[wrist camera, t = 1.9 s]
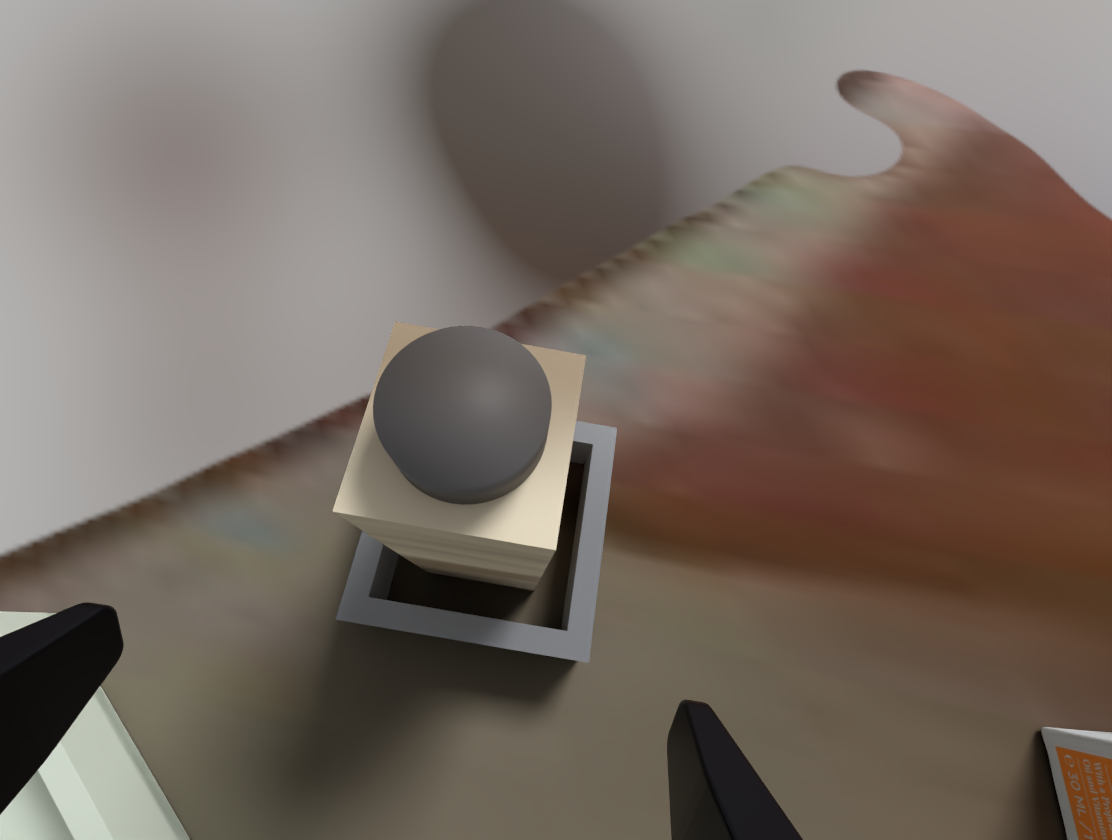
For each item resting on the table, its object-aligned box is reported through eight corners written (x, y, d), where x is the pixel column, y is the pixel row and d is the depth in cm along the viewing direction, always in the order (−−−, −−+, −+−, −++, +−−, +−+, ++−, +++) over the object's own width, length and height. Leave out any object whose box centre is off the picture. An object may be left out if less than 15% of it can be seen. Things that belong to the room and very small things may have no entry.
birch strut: (533, 590, 19) (561, 539, 8) (427, 572, 19) (306, 495, 8) (551, 487, 21) (594, 323, 9) (452, 470, 20) (381, 286, 9)
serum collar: (579, 658, 18) (589, 662, 16) (357, 620, 18) (335, 619, 16) (606, 449, 21) (617, 428, 19) (416, 416, 21) (404, 390, 19)
